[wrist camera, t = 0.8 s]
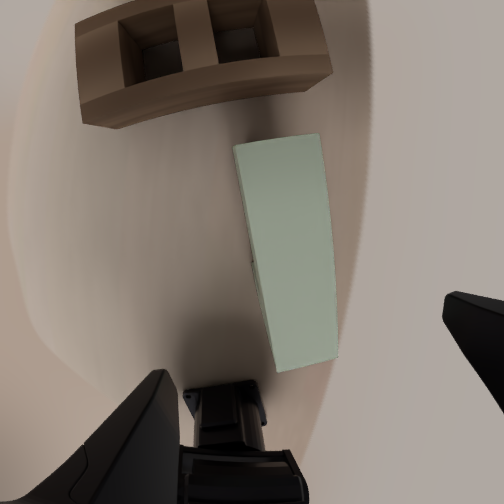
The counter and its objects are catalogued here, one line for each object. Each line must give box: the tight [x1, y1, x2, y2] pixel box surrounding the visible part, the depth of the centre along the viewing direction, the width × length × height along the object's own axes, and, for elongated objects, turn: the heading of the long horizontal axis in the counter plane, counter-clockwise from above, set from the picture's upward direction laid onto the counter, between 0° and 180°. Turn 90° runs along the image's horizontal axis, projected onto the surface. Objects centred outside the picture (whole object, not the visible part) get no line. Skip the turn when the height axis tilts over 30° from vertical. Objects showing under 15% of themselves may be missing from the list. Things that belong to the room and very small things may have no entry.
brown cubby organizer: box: [75, 0, 333, 129], centre depth 13 cm, size 6×12×5 cm, turn 100°
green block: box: [232, 133, 338, 373], centre depth 15 cm, size 10×3×8 cm, turn 10°
